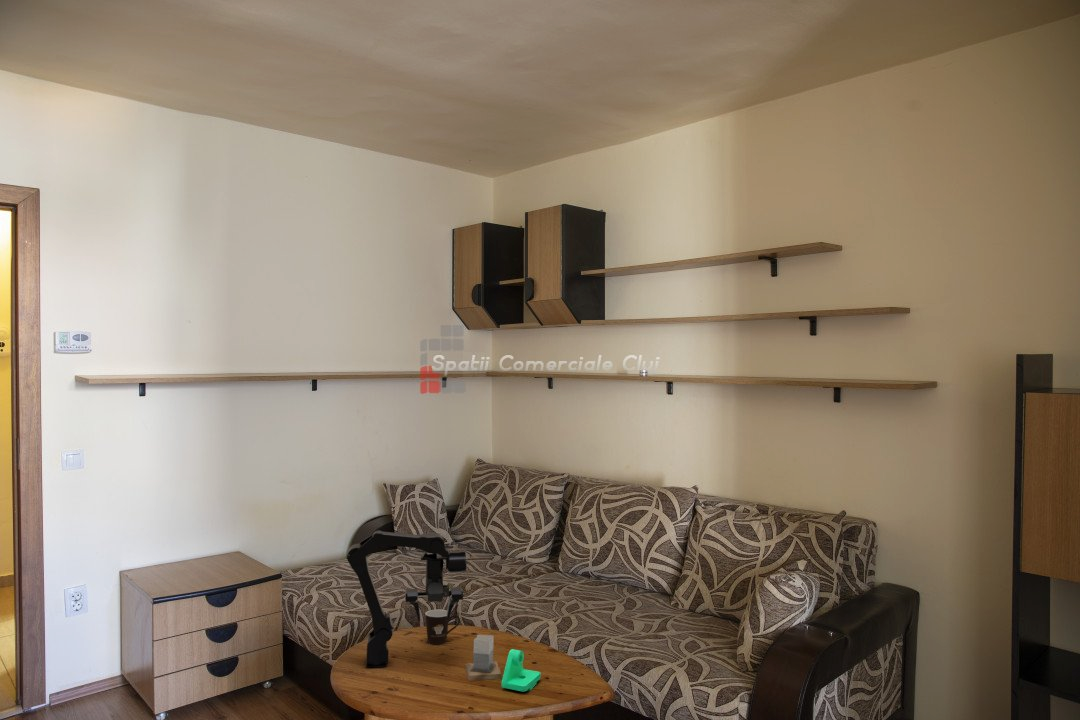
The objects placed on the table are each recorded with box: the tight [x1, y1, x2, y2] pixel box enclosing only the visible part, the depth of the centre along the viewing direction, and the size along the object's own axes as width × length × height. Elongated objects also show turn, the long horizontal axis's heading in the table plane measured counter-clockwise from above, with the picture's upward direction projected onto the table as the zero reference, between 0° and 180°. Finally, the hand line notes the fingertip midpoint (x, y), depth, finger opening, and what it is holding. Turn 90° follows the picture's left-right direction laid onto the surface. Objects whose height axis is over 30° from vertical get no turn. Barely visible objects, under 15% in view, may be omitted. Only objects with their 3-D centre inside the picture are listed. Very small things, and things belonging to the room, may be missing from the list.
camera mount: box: [501, 648, 541, 693], centre depth 221 cm, size 12×8×10 cm, turn 156°
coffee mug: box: [424, 609, 461, 646], centre depth 257 cm, size 12×9×10 cm
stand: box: [465, 661, 502, 682], centre depth 230 cm, size 10×10×2 cm
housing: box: [470, 634, 496, 673], centre depth 230 cm, size 6×6×10 cm
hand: (433, 620), depth 240 cm, fingers open, 9 cm apart
